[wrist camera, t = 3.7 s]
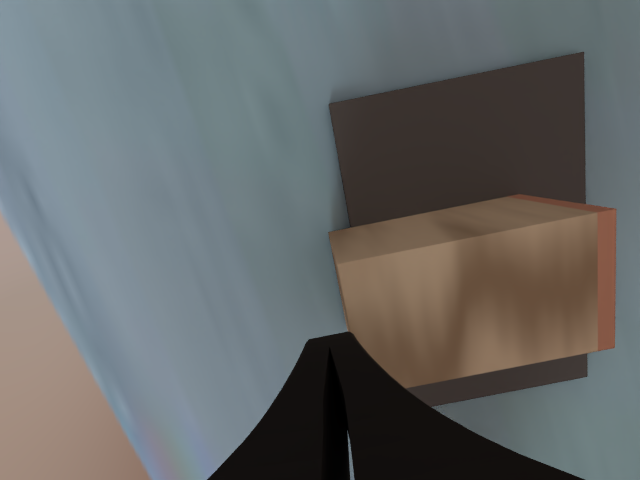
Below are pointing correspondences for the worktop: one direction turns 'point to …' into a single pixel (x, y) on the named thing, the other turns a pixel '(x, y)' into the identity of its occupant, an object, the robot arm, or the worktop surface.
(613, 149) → the worktop surface
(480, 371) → the maple block
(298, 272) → the worktop surface
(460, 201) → the rubber mat
